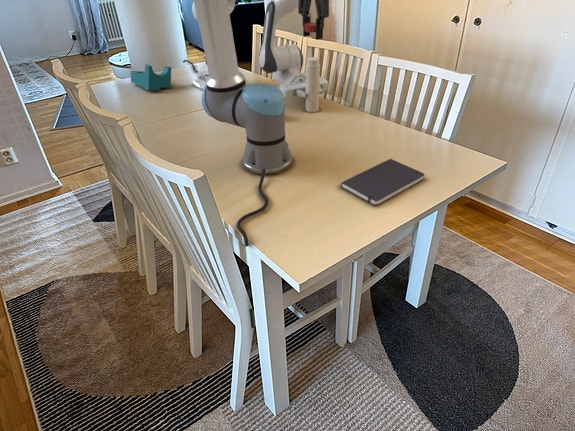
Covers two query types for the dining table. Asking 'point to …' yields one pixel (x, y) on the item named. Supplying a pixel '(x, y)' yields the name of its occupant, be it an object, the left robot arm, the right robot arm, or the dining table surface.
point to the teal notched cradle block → (152, 78)
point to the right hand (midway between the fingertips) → (312, 37)
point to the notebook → (382, 181)
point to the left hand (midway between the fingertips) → (313, 93)
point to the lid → (310, 27)
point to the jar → (312, 84)
